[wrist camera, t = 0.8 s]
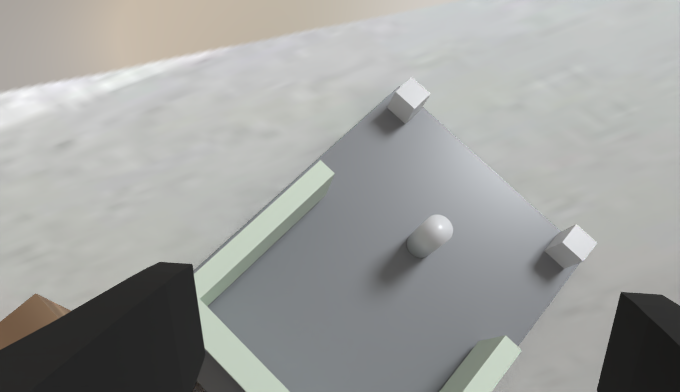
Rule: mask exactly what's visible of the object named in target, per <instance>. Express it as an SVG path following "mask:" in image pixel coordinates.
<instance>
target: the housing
mask: <svg viewBox="0 0 680 392" xmlns="http://www.w3.org/2000/svg"><path fill="white" fill-rule="evenodd" d="M334 174H335V173H334V172H333V171H332V170H331V169H330V168H329V167H327V166H326V165H325V164H324V163H323V162H322V161H321V160H320V161H319V162H318V163H316V164H315V165H314V166H313V167H312V168H311V169H310V170H309V171H308V172H306V173H305V174H304V175H303V176H302V177H301V178H300V179H299V180H298V181H296V182H295V183H294V184H293V185H292V186H291V187H290V188H289V189H288V190H286V191H285V192H284V193H283V194H282V195H281V196H280V197H279V198H278V199H277V200H275V201H274V202H273V203H272V204H271V205H270V206H269V207H268V208H267V209H265V210H264V211H263V212H262V213H261V214H260V215H259V216H258V217H257V218H255V219H254V220H253V221H252V222H251V223H250V224H249V225H248V226H247V227H245V228H244V229H243V230H242V231H241V232H240V233H239V234H238V235H237V236H235V237H234V238H233V239H232V240H231V241H230V242H229V243H228V244H227V245H226V246H224V247H223V248H222V249H221V250H220V251H219V252H218V253H217V254H216V255H214V256H213V257H212V258H211V259H210V260H209V261H208V262H207V263H206V264H204V265H203V266H202V267H201V268H200V269H199V270H198V271H197V272H196V273H194V280H195V286H196V293H197V300H198V307H199V313H200V320H201V327H202V334H203V341H204V347H205V350H206V351H207V352H208V353H209V354H210V355H211V356H212V357H213V358H214V359H215V360H216V361H217V362H218V363H219V364H220V365H221V367H222V368H223V369H224V370H225V371H226V372H227V373H228V374H229V375H230V376H231V377H232V378H233V379H234V380H235V381H236V382H237V383H238V384H239V385H240V386H241V387H242V388H243V390H244V391H245V392H290V391H289V390H288V389H287V388H286V387H285V386H284V385H283V384H282V383H281V382H280V381H279V380H278V379H277V378H276V377H275V376H274V375H273V374H272V373H271V372H270V371H269V370H268V369H267V368H266V367H265V366H264V365H263V364H262V362H261V361H260V360H259V359H258V358H257V357H256V356H255V355H254V354H253V353H252V352H251V351H250V350H249V349H248V348H247V347H246V346H245V345H244V344H243V343H242V342H241V341H240V340H239V339H238V338H237V337H236V336H235V335H234V334H233V333H232V332H231V331H230V330H229V329H228V327H227V326H226V325H225V324H224V323H223V322H222V321H221V320H220V319H219V318H218V317H217V316H216V315H215V314H214V313H213V312H212V311H211V310H210V309H209V308H208V307H207V306H208V305H209V304H210V303H211V302H213V301H214V300H215V299H216V298H217V297H218V296H219V295H220V294H221V293H222V292H223V291H224V290H225V289H226V288H227V287H228V286H230V285H231V284H232V283H233V282H234V281H235V280H236V279H237V278H238V277H239V276H240V275H241V274H242V273H243V272H244V271H245V270H247V269H248V268H249V267H250V266H251V265H252V264H253V263H254V262H255V261H256V260H257V259H258V258H259V257H260V256H261V255H262V254H264V253H265V252H266V251H267V250H268V249H269V248H270V247H271V246H272V245H273V244H274V243H275V242H276V241H277V240H278V239H279V238H281V237H282V236H283V235H284V234H285V233H286V232H287V231H288V230H289V229H290V228H291V227H292V226H293V225H294V224H295V223H296V222H298V221H299V220H300V219H301V218H302V217H303V216H304V215H305V214H306V213H307V212H308V211H309V210H310V209H311V208H312V207H313V206H315V205H316V204H317V203H318V202H319V201H320V200H321V199H322V198H323V197H324V196H325V195H326V193H327V191H328V188H329V186H330V184H331V181H332V179H333V177H334ZM521 351H522V350H521V349H520V348H519V347H518V346H517V345H516V344H515V343H513V342H512V341H511V340H510V339H509V338H508V337H507V336H506V335H504V336H500V337H495V338H491V339H486V340H482V341H478V343H477V344H476V345H475V347H474V348H473V349H472V350H471V352H470V353H469V354H468V356H467V357H466V358H465V359H464V361H463V362H462V363H461V364H460V366H459V367H458V368H457V370H456V371H455V372H454V373H453V375H452V376H451V377H450V379H449V380H448V381H447V382H446V384H445V385H444V386H443V388H442V389H441V390H440V391H439V392H492V390H493V389H494V388H495V386H496V385H497V383H498V382H499V381H500V379H501V378H502V377H503V375H504V374H505V373H506V371H507V370H508V369H509V367H510V366H511V364H512V363H513V362H514V360H515V359H516V358H517V356H518V355H519V354H520V352H521Z"/></svg>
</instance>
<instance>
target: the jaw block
mask: <svg viewBox="0 0 680 392" xmlns="http://www.w3.org/2000/svg"><path fill="white" fill-rule="evenodd" d="M69 312H71V311H70V310H68V309H66V308H64V307H62V306H60V305H58V304H56V303H54V302H52V301H50V300H48V299H46V298H44V297H42V296H40V295H38V294H34V295H33V296H32V297H31V298H29V299H28V300H27V301H26V302H24V303H23V304H22V305H21V306H19V307H18V308H17V309H16V310H14V311H13V312H12V313H11V314H9V315H8V316H7V317H6V318H5V319H3V320H2V321H1V322H0V350H1V349H3V348H5V347H6V346H8V345H10V344H12V343H14V342H16V341H18V340H20V339H21V338H23V337H25V336H27V335H29V334H31V333H33V332H35V331H36V330H38V329H40V328H42V327H44V326H46V325H48V324H50V323H51V322H53V321H55V320H57V319H59V318H60V317H62V316H64V315H65V314H67V313H69Z"/></svg>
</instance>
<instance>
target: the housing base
mask: <svg viewBox="0 0 680 392" xmlns="http://www.w3.org/2000/svg"><path fill="white" fill-rule="evenodd" d="M429 96H430V93H429V92H428V91H427V90H426V89H425V88H424V87H422V86H421V85H420V84H419V83H418V82H417V81H416V80H415V79H414V78H412V77H411V78H410V79H409V80H408V81H407V82H405V83H404V84H403V85H402V86H401V87H400V86H399V87H398V88H396V89H395V90H394V91H393V92H392V93H391V94H390V95H389V96H388V97H386V98H385V99H384V100H383V101H382V102H381V103H380V104H379V105H378V106H376V107H375V108H374V109H373V110H372V111H371V112H370V113H369V114H368V115H366V116H365V117H364V118H363V119H362V120H361V121H360V122H359V123H358V124H356V125H355V126H354V127H353V128H352V129H351V130H350V131H349V132H347V133H346V134H345V135H344V136H343V137H342V138H341V139H340V140H339V141H337V142H336V143H335V144H334V145H333V146H332V147H331V148H330V149H329V150H327V151H326V152H325V153H324V154H323V155H322V156H321V157H320V158H319V159H317V160H316V161H315V162H314V163H313V164H312V165H311V166H310V167H309V168H307V169H306V170H305V171H304V172H303V173H302V174H301V175H300V176H299V177H297V178H296V179H295V180H294V181H293V182H292V183H291V184H290V185H289V186H287V187H286V188H285V189H284V190H283V191H282V192H281V193H280V194H279V195H277V196H276V197H275V198H274V199H273V200H272V201H271V202H270V203H269V204H267V205H266V206H265V207H264V208H263V209H262V210H261V211H260V212H259V213H257V214H256V215H255V216H254V217H253V218H252V219H251V220H250V221H249V222H247V223H246V224H245V225H244V226H243V227H242V228H241V229H240V230H239V231H237V232H236V233H235V234H234V235H233V236H232V237H231V238H230V239H229V240H227V241H226V242H225V243H224V244H223V245H222V246H221V247H220V248H218V249H217V250H216V251H215V252H214V253H213V254H212V255H211V256H210V257H208V258H207V259H206V260H205V261H204V262H203V263H202V264H201V265H200V266H198V267H197V268H196V269H195V270H194V271H193V273H196V272H197V271H198V270H199V269H200V268H201V267H202V266H203V265H204V264H206V263H207V262H208V261H209V260H210V259H211V258H212V257H213V256H214V255H216V254H217V253H218V252H219V251H220V250H221V249H222V248H223V247H224V246H226V245H227V244H228V243H229V242H230V241H231V240H232V239H233V238H234V237H235V236H237V235H238V234H239V233H240V232H241V231H242V230H243V229H244V228H245V227H247V226H248V225H249V224H250V223H251V222H252V221H253V220H254V219H255V218H257V217H258V216H259V215H260V214H261V213H262V212H263V211H264V210H265V209H267V208H268V207H269V206H270V205H271V204H272V203H273V202H274V201H275V200H277V199H278V198H279V197H280V196H281V195H282V194H283V193H284V192H285V191H286V190H288V189H289V188H290V187H291V186H292V185H293V184H294V183H295V182H296V181H298V180H299V179H300V178H301V177H302V176H303V175H304V174H305V173H306V172H308V171H309V170H310V169H311V168H312V167H313V166H314V165H315V164H316V163H318V162H319V161H320V160H321V161H322V162H323V163H324V164H325V165H326V166H327V167H329V168H330V169H331V170H332V171H333V172H334V173H335V174H334V177H333V179H332V181H331V184H330V186H329V188H328V191H327V193H326V195H325V196H324V197H323V198H322V199H321V200H320V201H319V202H318V203H317V204H316V205H315V206H313V207H312V208H311V209H310V210H309V211H308V212H307V213H306V214H305V215H304V216H303V217H302V218H301V219H300V220H299V221H298V222H296V223H295V224H294V225H293V226H292V227H291V228H290V229H289V230H288V231H287V232H286V233H285V234H284V235H283V236H282V237H281V238H279V239H278V240H277V241H276V242H275V243H274V244H273V245H272V246H271V247H270V248H269V249H268V250H267V251H266V252H265V253H264V254H262V255H261V256H260V257H259V258H258V259H257V260H256V261H255V262H254V263H253V264H252V265H251V266H250V267H249V268H248V269H247V270H245V271H244V272H243V273H242V274H241V275H240V276H239V277H238V278H237V279H236V280H235V281H234V282H233V283H232V284H231V285H230V286H228V287H227V288H226V289H225V290H224V291H223V292H222V293H221V294H220V295H219V296H218V297H217V298H216V299H215V300H214V301H213V302H211V303H210V304H209V305H208V306H207V307H208V308H209V309H210V310H211V311H212V312H213V313H214V314H215V315H216V316H217V317H218V318H219V319H220V320H221V321H222V322H223V323H224V324H225V325H226V326H227V327H228V329H229V330H230V331H231V332H232V333H233V334H234V335H235V336H236V337H237V338H238V339H239V340H240V341H241V342H242V343H243V344H244V345H245V346H246V347H247V348H248V349H249V350H250V351H251V352H252V353H253V354H254V355H255V356H256V357H257V358H258V359H259V360H260V361H261V362H262V364H263V365H264V366H265V367H266V368H267V369H268V370H269V371H270V372H271V373H272V374H273V375H274V376H275V377H276V378H277V379H278V380H279V381H280V382H281V383H282V384H283V385H284V386H285V387H286V388H287V389H288V390H289V391H290V392H439V391H440V390H441V389H442V388H443V386H444V385H445V384H446V382H447V381H448V380H449V379H450V377H451V376H452V375H453V373H454V372H455V371H456V370H457V368H458V367H459V366H460V364H461V363H462V362H463V361H464V359H465V358H466V357H467V356H468V354H469V353H470V352H471V350H472V349H473V348H474V347H475V345H476V344H477V343H478V341H482V340H486V339H491V338H495V337H500V336H504V335H506V336H507V337H508V338H509V339H510V340H511V341H512V342H513V343H515V344H516V345H517V346H519V344H520V343H521V342H522V340H523V339H524V338H525V336H526V335H527V333H528V332H529V331H530V329H531V328H532V327H533V325H534V324H535V323H536V321H537V320H538V319H539V317H540V316H541V315H542V313H543V312H544V311H545V309H546V308H547V307H548V305H549V304H550V302H551V301H552V300H553V298H554V297H555V296H556V294H557V293H558V292H559V290H560V289H561V288H562V286H563V285H564V284H565V282H566V281H567V280H568V278H569V277H570V276H571V274H572V273H573V272H574V270H575V269H576V267H577V266H578V265H579V263H581V262H583V261H584V260H585V259H586V257H587V256H588V255H589V253H590V252H591V251H592V249H593V248H594V246H595V245H596V244H597V242H596V241H595V240H594V239H592V238H591V237H590V236H589V235H588V234H587V233H586V232H585V231H583V230H582V229H581V228H580V227H579V226H578V225H577V224H576V225H574V226H572V227H570V228H568V229H566V230H564V231H562V232H561V231H560V230H559V229H558V228H557V227H556V226H555V225H553V224H552V223H551V222H550V221H549V220H548V219H547V218H546V217H545V216H543V215H542V214H541V213H540V212H539V211H538V210H537V209H536V208H535V207H533V206H532V205H531V204H530V203H529V202H528V201H527V200H526V199H525V198H523V197H522V196H521V195H520V194H519V193H518V192H517V191H516V190H515V189H513V188H512V187H511V186H510V185H509V184H508V183H507V182H506V181H505V180H503V179H502V178H501V177H500V176H499V175H498V174H497V173H496V172H495V171H493V170H492V169H491V168H490V167H489V166H488V165H487V164H486V163H485V162H483V161H482V160H481V159H480V158H479V157H478V156H477V155H476V154H475V153H473V152H472V151H471V150H470V149H469V148H468V147H467V146H466V145H465V144H463V143H462V142H461V141H460V140H459V139H458V138H457V137H456V136H455V135H454V134H452V133H451V132H450V131H449V130H448V129H447V128H446V127H445V126H444V125H442V124H441V123H440V122H439V121H438V120H437V119H436V118H435V117H434V116H432V115H431V114H430V113H429V112H428V111H427V110H426V109H425V108H424V107H423V105H424V103H425V102H426V100H427V99H428V97H429ZM205 354H206V356H205V358H204V361H203V364H202V367H201V370H200V373H199V375H198V378H197V382H198V383H199V384H200V385H201V386H202V387H203V388H204V389H205V391H206V392H245V391H244V390H243V388H242V387H241V386H240V385H239V384H238V383H237V382H236V381H235V380H234V379H233V378H232V377H231V376H230V375H229V374H228V373H227V372H226V371H225V370H224V369H223V368H222V367H221V365H220V364H219V363H218V362H217V361H216V360H215V359H214V358H213V357H212V356H211V355H210V354H209V353H208V352H207V351H206V350H205Z"/></svg>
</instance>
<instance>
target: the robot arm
mask: <svg viewBox="0 0 680 392" xmlns="http://www.w3.org/2000/svg"><path fill="white" fill-rule="evenodd" d="M205 356H206V354H205V347H204V341H203V334H202V327H201V320H200V313H199V307H198V300H197V293H196V286H195V280H194V273H193V266H192V264H182V263H167V262H159V263H157V264H155V265H153V266H150V267H148V268H146V269H145V270H143V271H141V272H139V273H137V274H135V275H133V276H132V277H130V278H128V279H126V280H125V281H123V282H121V283H119V284H118V285H116V286H114V287H112V288H111V289H109V290H107V291H105V292H104V293H102V294H100V295H99V296H97V297H95V298H93V299H92V300H90V301H88V302H86V303H85V304H83V305H81V306H79V307H78V308H76V309H74V310H72V311H71V312H69V313H67V314H65V315H64V316H62V317H60V318H59V319H57V320H55V321H53V322H51V323H50V324H48V325H46V326H44V327H42V328H40V329H38V330H36V331H35V332H33V333H31V334H29V335H27V336H25V337H23V338H21V339H20V340H18V341H16V342H14V343H12V344H10V345H8V346H6V347H5V348H3V349H1V350H0V392H192V391H193V389H194V386H195V384H196V381H197V378H198V375H199V373H200V370H201V367H202V364H203V361H204V358H205ZM597 392H680V306H679V305H677V304H676V303H674V302H673V301H671V300H670V299H668V298H666V297H665V296H663V295H657V294H642V293H626V292H621V294H620V298H619V302H618V306H617V310H616V314H615V318H614V322H613V326H612V331H611V335H610V339H609V343H608V347H607V351H606V355H605V359H604V363H603V367H602V371H601V375H600V379H599V383H598V387H597Z"/></svg>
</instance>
